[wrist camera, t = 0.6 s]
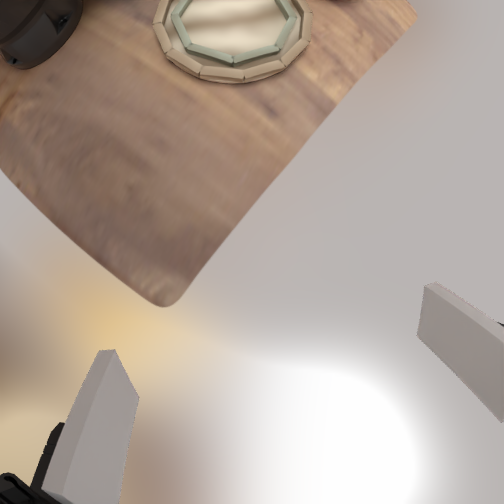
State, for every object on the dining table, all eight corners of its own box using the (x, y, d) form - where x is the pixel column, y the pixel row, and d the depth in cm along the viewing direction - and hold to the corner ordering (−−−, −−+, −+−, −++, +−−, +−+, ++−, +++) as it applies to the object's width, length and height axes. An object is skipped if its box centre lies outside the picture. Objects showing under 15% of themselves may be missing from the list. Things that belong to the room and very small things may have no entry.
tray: (142, 1, 25) (138, -9, 22) (271, -34, 25) (274, -44, 22) (187, 106, 31) (185, 101, 28) (328, 62, 31) (336, 55, 28)
